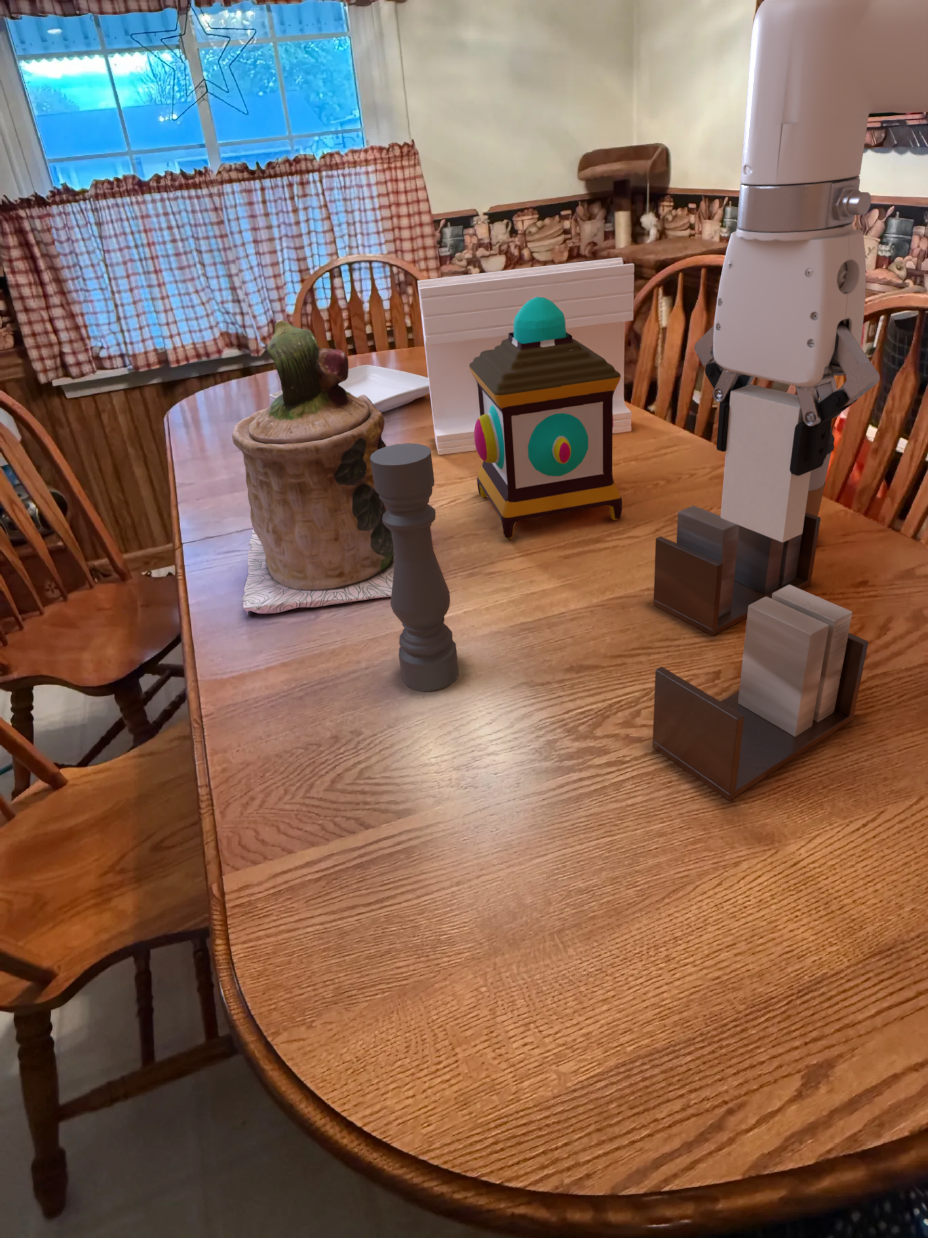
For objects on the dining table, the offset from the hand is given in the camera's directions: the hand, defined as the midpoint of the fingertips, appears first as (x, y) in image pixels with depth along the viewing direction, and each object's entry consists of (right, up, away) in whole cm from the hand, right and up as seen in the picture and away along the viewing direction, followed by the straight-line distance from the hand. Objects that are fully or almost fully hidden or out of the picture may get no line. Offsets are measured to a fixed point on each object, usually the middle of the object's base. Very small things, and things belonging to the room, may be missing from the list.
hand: (768, 456), depth 65 cm
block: (-12, +20, +85) cm, 88 cm away
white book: (0, -5, +3) cm, 6 cm away
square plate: (-48, +34, +112) cm, 127 cm away
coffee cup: (+18, -3, +42) cm, 46 cm away
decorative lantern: (-12, +3, +57) cm, 59 cm away
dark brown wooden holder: (+7, -10, +32) cm, 34 cm away
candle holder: (-28, -19, +23) cm, 41 cm away
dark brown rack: (+2, -24, +11) cm, 26 cm away
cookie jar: (-42, -6, +48) cm, 64 cm away
